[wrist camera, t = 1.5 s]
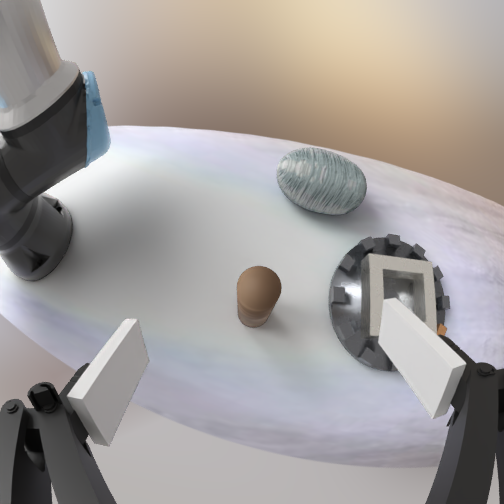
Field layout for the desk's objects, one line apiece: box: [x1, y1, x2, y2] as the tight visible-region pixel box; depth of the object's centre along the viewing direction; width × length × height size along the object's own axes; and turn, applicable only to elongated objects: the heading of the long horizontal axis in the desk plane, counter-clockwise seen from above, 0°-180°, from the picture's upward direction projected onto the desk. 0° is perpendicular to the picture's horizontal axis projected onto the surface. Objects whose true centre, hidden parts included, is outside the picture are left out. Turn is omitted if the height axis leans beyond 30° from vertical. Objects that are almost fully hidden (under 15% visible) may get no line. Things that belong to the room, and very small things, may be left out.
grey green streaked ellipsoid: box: [277, 148, 367, 215], centre depth 41 cm, size 14×10×10 cm
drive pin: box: [237, 266, 281, 327], centre depth 31 cm, size 4×4×12 cm
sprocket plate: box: [329, 234, 450, 371], centre depth 36 cm, size 20×20×4 cm
